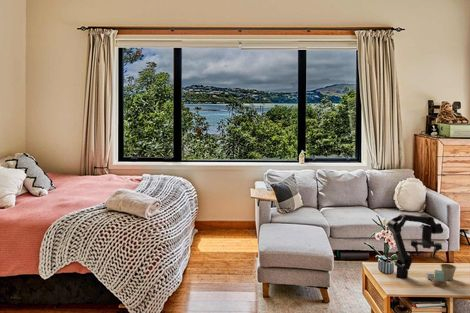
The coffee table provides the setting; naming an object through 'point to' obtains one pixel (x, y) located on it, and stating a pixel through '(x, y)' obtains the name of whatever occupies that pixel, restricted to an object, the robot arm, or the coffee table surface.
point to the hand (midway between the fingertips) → (425, 257)
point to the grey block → (429, 275)
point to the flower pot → (448, 271)
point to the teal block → (439, 275)
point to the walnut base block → (439, 283)
